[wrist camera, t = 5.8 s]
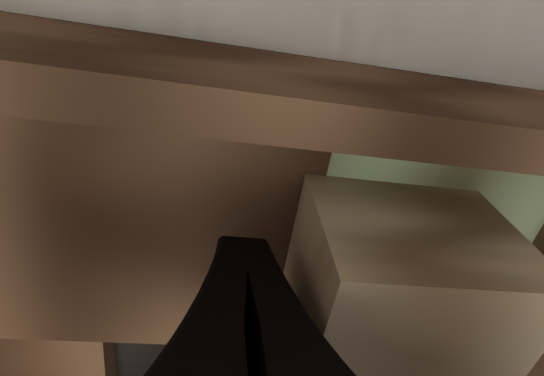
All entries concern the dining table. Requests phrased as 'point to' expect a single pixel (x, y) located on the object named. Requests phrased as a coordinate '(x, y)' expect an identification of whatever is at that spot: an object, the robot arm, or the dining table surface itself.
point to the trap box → (205, 172)
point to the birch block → (416, 279)
